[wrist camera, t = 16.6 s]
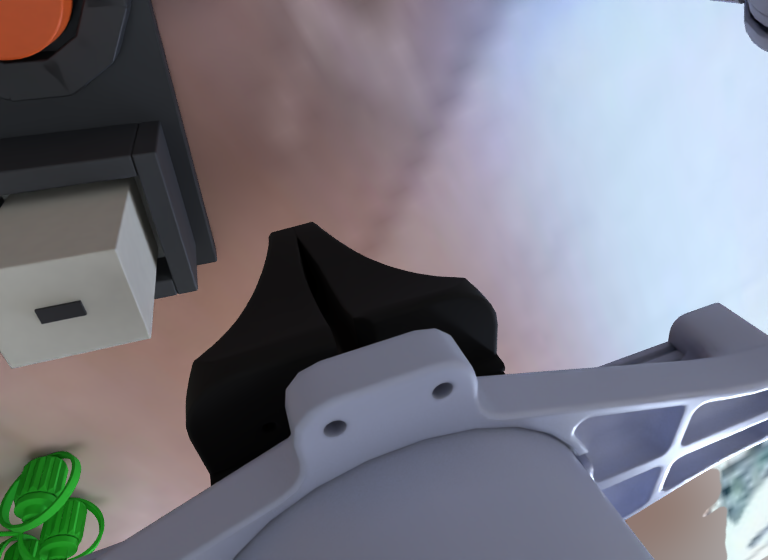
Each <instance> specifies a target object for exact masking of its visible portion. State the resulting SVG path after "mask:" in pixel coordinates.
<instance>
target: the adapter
mask: <svg viewBox="0 0 768 560" xmlns="http://www.w3.org/2000/svg"><path fill="white" fill-rule="evenodd" d="M157 120H158V121H160V122H161V126H162V129H163V133H164V136H165V140H166V143H167V147H168V150H169V154H170V157H171V160H172V164H173V167H174V171H175V174H176V178H177V181H178V185H179V188H180V192H181V195H182V199H183V202H184V206H185V209H186V213H187V216H188V220H189V223H190V227H191V230H192V234H193V237H194V241H195V244H196V261H197V265H201V264H206V263H211V262H216V261H217V254H216V248H215V244H214V240H213V236H212V232H211V229H210V225H209V221H208V217H207V213H206V209H205V206H204V202H203V198H202V194H201V190H200V186H199V183H198V179H197V175H196V171H195V167H194V164H193V160H192V156H191V152H190V148H189V144H188V141H187V137H186V133H185V129H184V125H183V121H182V118H181V114H180V110H179V106H178V102H177V99H176V95H175V91H174V87H173V83H172V79H171V76H170V72H169V68H168V64H167V60H166V56H165V53H164V49H163V45H162V41H161V37H160V33H159V30H158V26H157V22H156V18H155V14H154V11H153V7H152V3H151V0H73V8H72V14H71V17H70V21H69V23H68V25H67V27H66V29H65V30H64V31H63V33H62V34H61V35H60V36H59V37H58V38H57V39H56V40H55V41H53V42H52V43H51V44H49V45H48V46H47V47H45V48H44V49H42V50H41V51H40V52H38V53H36V54H34V55H32V56H29V57H26V58H22V59H16V60H0V139H3V138H12V137H20V136H29V135H38V134H46V133H55V132H63V131H72V130H80V129H89V128H97V127H106V126H115V125H123V124H132V123H138V124H139V123H141V122H149V121H157Z"/></svg>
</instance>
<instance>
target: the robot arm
mask: <svg viewBox="0 0 768 560" xmlns="http://www.w3.org/2000/svg"><path fill="white" fill-rule="evenodd" d="M712 1H721V2H731V3H740V4H742V3H744V23H745V28H746V32H747V34H748V35H749V37H750V38H751V40H752V42H753V43H755V44H756V45H757V46H758V47H760V48H761V49H762V50H764V51H767V52H768V0H712ZM497 327H498V324H497V316H496V312H495V311H494V309H493V307H492V305H491V304H490V303H489V301H488V300H487V299H486V298H485V297H484V296H483V295H482V294H481V293H480V291H479V290H478V289H477V288H475V287H474V286H473V285H472V284H471V283H470V282H469V281H468V280H467V279H466V278H457V277H439V276H431V275H424V274H418V273H413V272H408V271H405V270H401V269H397V268H393V267H390V266H387V265H384V264H382V263H379V262H377V261H374V260H372V259H369V258H367V257H365V256H363V255H361V254H359V253H357V252H355V251H354V250H352V249H350V248H349V247H347V246H346V245H344V244H342V243H341V242H339V241H338V240H336V239H335V238H334V237H332V236H331V235H329V234H328V233H327V232H325V231H324V230H323V229H322V228H320V227H319V226H318V225H317V224H315V223H313V222H310V223H306V224H302V225H298V226H295V227H291V228H287V229H283V230H280V231H276V232H272V233H271V234H270V236H269V246H268V252H267V257H266V260H265V264H264V268H263V271H262V274H261V276H260V279H259V281H258V284H257V286H256V289H255V291H254V293H253V295H252V297H251V299H250V300H249V302H248V304H247V306H246V307H245V309H244V310H243V312H242V313H241V315H240V316H239V318H238V319H237V321H236V322H235V323H234V324H233V325H232V327H231V328H230V329H229V330H228V331H227V332H226V333H225V334H224V335H223V336H222V337H221V338H220V339H219V340H218V341H217V342H216V343H215V344H214V345H213V346H212V347H210V348H209V349H208V350H207V351H206V352H205V353H203V354H202V355H201V356H200V357H199V358H197V359H196V360H195V361H194V362H193V365H192V369H191V373H190V378H189V383H188V389H187V396H186V429H187V432H188V435H189V438H190V440H191V442H192V444H193V446H194V447H195V449H196V451H197V452H198V454H199V456H200V458H201V459H202V461H203V463H204V465H205V466H206V468H207V470H208V472H209V473H210V479H211V487H209V488H207V489H206V490H204V491H203V492H201V493H199V494H198V495H196V496H195V497H193V498H192V499H190V500H188V501H187V502H185V503H184V504H182V505H180V506H179V507H177V508H176V509H174V510H172V511H171V512H169V513H168V514H166V515H164V516H163V517H161V518H160V519H158V520H157V521H155V522H153V523H152V524H150V525H149V526H147V527H145V528H144V529H142V530H141V531H139V532H137V533H136V534H134V535H133V536H131V537H129V538H128V539H126V540H125V541H123V542H120V543H117V544H115V545H112V546H109V547H107V548H104V549H101V550H98V551H96V552H93V553H90V554H87V555H85V556H82V557H79V558H77V559H74V560H654V558H653V557H652V556H651V555H650V553H649V552H648V551H647V549H646V548H645V547H644V545H643V544H642V543H641V541H640V540H639V539H638V538H637V536H636V535H635V534H634V532H633V531H632V530H631V528H630V527H629V526H628V524H627V523H626V522H625V520H626V519H628V518H630V517H631V516H633V515H634V514H636V513H638V512H639V511H641V510H643V509H644V508H646V507H647V506H649V505H651V504H652V503H654V502H656V501H657V500H659V499H660V498H662V497H664V496H665V495H667V494H669V493H670V492H672V491H673V490H675V489H677V488H678V487H680V486H682V485H683V484H685V483H686V482H688V481H690V480H692V479H693V478H695V477H697V476H698V475H700V474H702V473H703V472H705V471H707V470H709V469H710V468H712V467H714V466H716V465H718V464H719V463H721V462H723V461H725V460H727V459H729V458H731V457H733V456H735V455H736V454H738V453H740V452H742V451H745V450H747V449H749V448H751V447H753V446H755V445H757V444H759V443H762V442H764V441H766V440H768V335H766V334H765V333H764V332H762V331H761V330H759V329H758V328H756V327H755V326H753V325H752V324H750V323H749V322H747V321H746V320H744V319H743V318H741V317H740V316H738V315H737V314H735V313H734V312H732V311H731V310H729V309H728V308H726V307H725V306H723V305H722V304H720V303H714V304H711V305H708V306H705V307H703V308H700V309H697V310H694V311H691V312H689V313H686V314H684V315H682V316H680V317H679V318H678V319H677V320H676V321H675V322H674V323H673V325H672V327H671V329H670V333H669V339H668V342H665V343H662V344H660V345H657V346H654V347H651V348H649V349H646V350H643V351H641V352H638V353H635V354H632V355H630V356H627V357H624V358H621V359H619V360H616V361H613V362H611V363H608V364H605V365H602V366H600V367H595V368H582V369H569V370H556V371H543V372H530V373H517V374H505V373H504V372H503V371H505V366H504V363H503V362H502V360H501V359H500V358H499V357H498V355H497Z"/></svg>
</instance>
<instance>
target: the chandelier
mask: <svg viewBox="0 0 768 560" xmlns="http://www.w3.org/2000/svg"><path fill="white" fill-rule="evenodd" d="M64 458H68V459H70V460H71V462H72V471H71V475H70V477H69V480H68V482H67V484H66V486H65V483H66V478H67V474H68V468H67V465H66V463H65V462H64V461H63V460H62V459H64ZM80 473H81V465H80V462H79V460H78V459H77V458H76V457H75V456H73V455H72V454H70V453H68V452H64V451H60V452H55V453H52V454H49V455H47V456H43V457H38V458H36V459H34V460H31V461H30V462H29V463H28V464H27V465H26V466H25V467H24V469H23V472H22V474H21V475H20V476H19V477H18V478H17V479H16V480H15V482H14V483H13V484H12V485H11V487H10V488H9V490H8V491H7V493H6V494H5V496H4V498H3V500H2V503H1V505H0V523H1V525H2V526H3V527H5V528H7V529H9V530H11V531H4V532H0V536H13V537H11V538H9V539H7V540H5V541H4V542H2V543H1V544H0V558H1V555H2V552H3V550H4V549H5V547H6V546H7V545H8V544H9V543H10V542H11V541H18V542H16V543H14V544H13V545H12V546H10V547H9V549H8V550H7V551H6V553H5V556H4V560H67V558H69V557H71V556H73V555H74V554H75V553H76V552H77V549H78V545H79V543H80V542H81V540H82V537H83V532H84V526H85V520H86V514H87V509H88V510H89V511H91V512H92V513H93V514H94V515H95V517H96V518H97V520H98V523H99V535H98V537H97V539H96V541H95V542H94V543H93V544H92V546H91V547H90V548H88V549H87V550H86V551H85V552H83V553H82V554H80V555H78V556H76V557H74V558H71V559H68V560H74V559H77V558H79V557H82V556H85V555H87V554H90V553H92V552H93V551H94V550H95V548H96V547H97V546H98V544H99V542H100V540H101V537H102V534H103V531H104V518H103V515H102V513H101V511H100V510H99V508H98V507H97V506H95V505H94V504H93V503H91V502H89V501H87V500H84V499H81V498H74V497H70V496H71V494H72V493H73V491H74V489H75V487H76V485H77V483H78V481H79V478H80ZM41 476H42V477H41ZM13 500H14V503H15V508H14V513H15V515H16V516H17V517H18V518H20V519H22V522H23V523H22V524H18V525H11V524H10V521H9V511H10V507H11V505H12V502H13ZM62 515H63V516H62ZM42 523H43V527H42V531H41V535H40V540H38V539H37V538H35V537H33V536H31V535H28V534H23V533H24V532H25V531H28V530H31V529H33V528H35V527H37V526H39V525H41V524H42ZM29 548H30V549H29Z"/></svg>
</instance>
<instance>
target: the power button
mask: <svg viewBox="0 0 768 560" xmlns="http://www.w3.org/2000/svg"><path fill="white" fill-rule="evenodd" d="M72 8H73V0H0V60H16V59H22V58H26V57H29V56H32V55H34V54H36V53H38V52H40V51H41V50H42V49H44V48H45V47H47V46H48V45H49V44H51V43H52V42H53V41H55V40H56V39H57V38H58V37H59V36H60V35H61V34H62V33H63V31H64V30H65V29H66V27H67V25H68V23H69V21H70V17H71V14H72Z"/></svg>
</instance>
